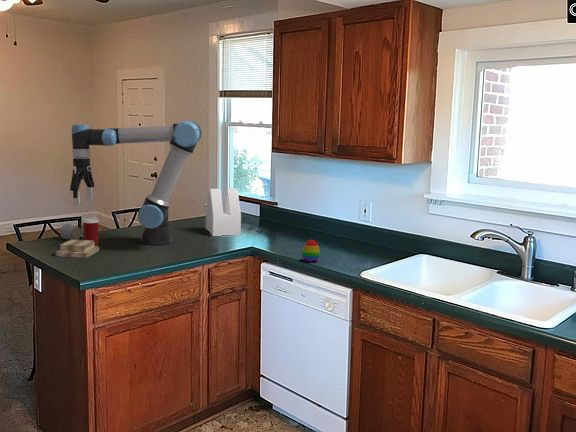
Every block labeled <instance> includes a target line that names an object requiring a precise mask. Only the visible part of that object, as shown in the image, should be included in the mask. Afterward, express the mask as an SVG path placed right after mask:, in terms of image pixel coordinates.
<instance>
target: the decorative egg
mask: <svg viewBox="0 0 576 432" xmlns="http://www.w3.org/2000/svg"><path fill="white" fill-rule="evenodd" d="M301 255H302V258H303V261H305V262H306V261H316V262H317V261H318V260H319V258H320V255H321V251H320V246H319V245H318V242H316V241H315V240H314V239H309V240H307V241H306V242H305V244H304V245H303V247H302V251H301Z"/></svg>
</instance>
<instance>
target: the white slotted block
mask: <svg viewBox="0 0 576 432" xmlns="http://www.w3.org/2000/svg"><path fill="white" fill-rule="evenodd" d="M222 197H223V196H222V189H221V188H209V191H208V197H207V202H206V208H205V230H206V229H207V230H208V231H209V232H210V233H211V234H212V235H211V234H210V233H209V234H210V235H211V237H213V236H222V235H240V236H241V229H242V228H241V227H242V225H241V224H242V211H241V207H240V206H241V205H240V204H241V203H240V197H239V191H238V188H236V187H235V188H226V190H225V196H224V200H223V198H222ZM222 237H223V236H222Z"/></svg>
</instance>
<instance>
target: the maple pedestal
mask: <svg viewBox="0 0 576 432" xmlns="http://www.w3.org/2000/svg"><path fill="white" fill-rule="evenodd" d="M59 246H60V247H59V248H60V249H58V250H56V251H55V256H56V257H63V258H65V257H67V258H83V259H86V258H89V257H90V256H93V255H94V254H96V253H97V252H99V251H100V246H98V245H97V246H95V243H94V241H90V240H84V239H78V240H72V239H71V240H66V241H64V242H63V243H61V244H59Z"/></svg>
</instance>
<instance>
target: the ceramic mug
mask: <svg viewBox="0 0 576 432" xmlns="http://www.w3.org/2000/svg"><path fill="white" fill-rule="evenodd" d="M82 233H83V231H82V229H81V228H80V227H79V226H77V225H74V224H73V225H72V224H69V223H65V224H63V225H62V226H61V227H60V230H59V234H60V237H61V239H64V240H67V241H69V240H71V239H72V240H80V237H81V238H82V239H84V234H82Z"/></svg>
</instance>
